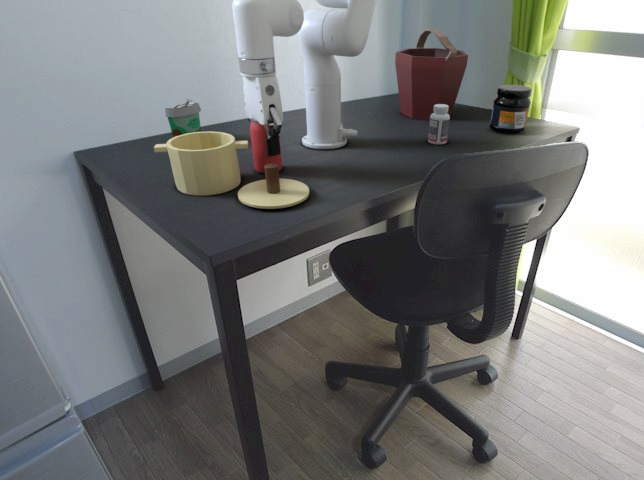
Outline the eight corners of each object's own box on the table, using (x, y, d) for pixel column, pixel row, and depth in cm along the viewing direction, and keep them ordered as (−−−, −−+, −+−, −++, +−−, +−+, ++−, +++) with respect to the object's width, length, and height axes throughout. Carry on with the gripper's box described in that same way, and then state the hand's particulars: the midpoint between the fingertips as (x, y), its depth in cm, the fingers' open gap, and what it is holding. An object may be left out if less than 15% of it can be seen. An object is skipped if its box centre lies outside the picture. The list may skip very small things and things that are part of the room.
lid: (240, 185, 100) (235, 155, 96) (306, 181, 102) (305, 152, 98) (236, 213, 88) (231, 181, 84) (312, 209, 90) (310, 177, 86)
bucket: (463, 123, 143) (476, 33, 128) (394, 123, 143) (400, 32, 128) (450, 105, 163) (461, 25, 148) (390, 105, 163) (394, 25, 148)
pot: (170, 174, 105) (160, 133, 100) (253, 170, 108) (248, 129, 102) (158, 198, 94) (146, 153, 89) (252, 192, 97) (246, 148, 91)
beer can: (270, 176, 105) (264, 123, 97) (249, 171, 107) (242, 119, 100) (288, 168, 109) (283, 117, 102) (267, 163, 112) (261, 113, 105)
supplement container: (522, 136, 132) (532, 92, 125) (486, 132, 135) (494, 89, 128) (525, 127, 140) (534, 85, 133) (491, 124, 143) (498, 83, 136)
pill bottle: (444, 139, 129) (449, 103, 124) (448, 145, 125) (453, 107, 119) (426, 139, 129) (429, 103, 123) (429, 145, 125) (433, 108, 119)
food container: (193, 149, 121) (185, 109, 115) (172, 147, 122) (164, 108, 116) (213, 136, 131) (207, 99, 125) (194, 134, 132) (187, 98, 126)
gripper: (293, 70, 91) (299, 158, 102) (255, 60, 102) (264, 139, 113) (260, 74, 88) (269, 164, 98) (224, 62, 99) (236, 144, 109)
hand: (266, 150), depth 105 cm, fingers closed on beer can, 6 cm apart
